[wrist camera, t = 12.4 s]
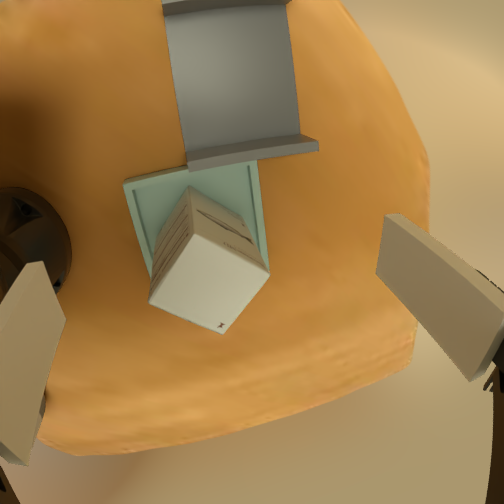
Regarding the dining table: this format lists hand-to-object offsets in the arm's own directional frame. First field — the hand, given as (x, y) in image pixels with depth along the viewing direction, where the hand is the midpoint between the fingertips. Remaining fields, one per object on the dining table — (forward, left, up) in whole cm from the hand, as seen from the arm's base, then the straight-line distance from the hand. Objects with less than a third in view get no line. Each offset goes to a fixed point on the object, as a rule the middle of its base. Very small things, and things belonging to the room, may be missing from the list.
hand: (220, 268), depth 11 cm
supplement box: (-1, -8, -24) cm, 25 cm away
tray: (-1, -8, -24) cm, 25 cm away
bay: (+5, +7, -24) cm, 26 cm away
